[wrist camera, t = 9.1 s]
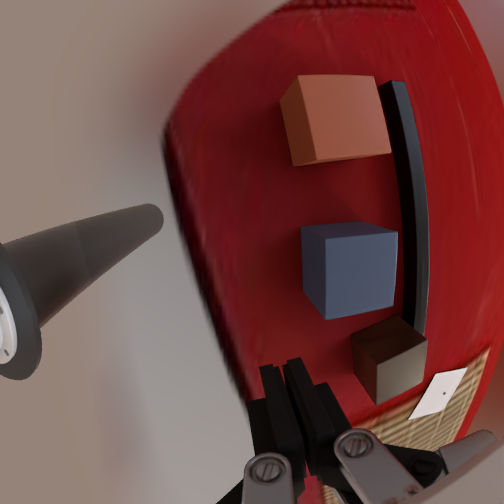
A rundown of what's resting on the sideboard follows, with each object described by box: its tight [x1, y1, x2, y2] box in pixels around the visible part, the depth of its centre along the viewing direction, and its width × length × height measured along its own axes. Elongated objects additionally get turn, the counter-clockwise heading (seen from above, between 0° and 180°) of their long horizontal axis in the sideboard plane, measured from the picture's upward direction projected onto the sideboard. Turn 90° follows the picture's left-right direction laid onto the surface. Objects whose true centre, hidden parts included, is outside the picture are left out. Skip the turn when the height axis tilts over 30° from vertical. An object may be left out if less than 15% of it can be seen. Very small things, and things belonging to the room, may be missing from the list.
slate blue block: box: [301, 221, 398, 320], centre depth 18 cm, size 5×5×5 cm
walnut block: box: [351, 315, 428, 405], centre depth 20 cm, size 5×5×5 cm
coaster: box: [408, 368, 467, 420], centre depth 26 cm, size 8×8×1 cm
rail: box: [379, 80, 429, 336], centre depth 20 cm, size 2×26×2 cm, turn 11°
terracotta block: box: [279, 75, 391, 167], centre depth 16 cm, size 5×5×5 cm
